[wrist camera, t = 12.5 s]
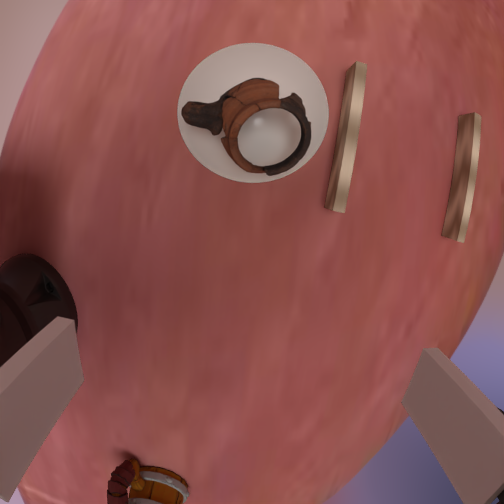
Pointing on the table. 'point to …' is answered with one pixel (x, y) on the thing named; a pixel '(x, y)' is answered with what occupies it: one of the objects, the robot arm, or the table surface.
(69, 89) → the table surface
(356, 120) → the pair of beige bars
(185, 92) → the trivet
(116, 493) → the mug
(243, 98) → the pottery mug
